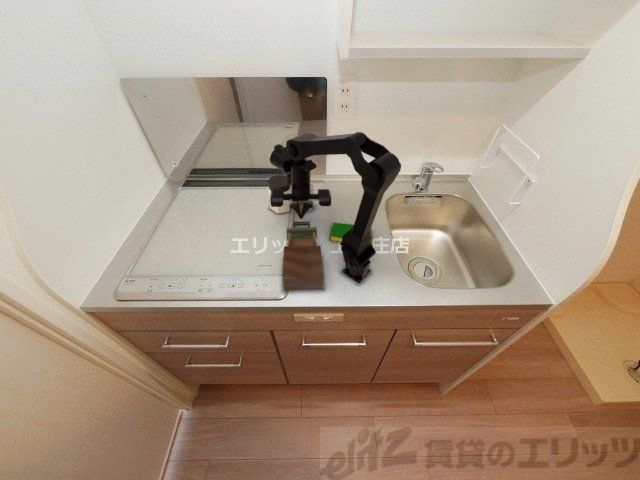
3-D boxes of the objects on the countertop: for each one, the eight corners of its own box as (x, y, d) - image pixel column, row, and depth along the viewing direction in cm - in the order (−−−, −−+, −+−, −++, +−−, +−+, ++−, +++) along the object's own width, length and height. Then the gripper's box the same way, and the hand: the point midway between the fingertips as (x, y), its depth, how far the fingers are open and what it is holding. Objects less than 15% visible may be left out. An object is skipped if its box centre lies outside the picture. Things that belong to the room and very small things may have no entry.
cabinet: (284, 258, 88) (283, 246, 83) (319, 257, 89) (320, 245, 84) (283, 290, 79) (282, 278, 75) (322, 289, 80) (323, 277, 76)
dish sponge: (370, 245, 94) (371, 240, 92) (331, 240, 94) (331, 235, 93) (370, 231, 98) (371, 226, 97) (332, 226, 99) (333, 222, 98)
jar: (288, 215, 103) (286, 189, 94) (267, 212, 104) (264, 186, 95) (294, 201, 109) (293, 175, 100) (274, 198, 110) (272, 172, 101)
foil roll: (315, 207, 107) (316, 186, 100) (306, 213, 104) (306, 192, 97) (306, 201, 109) (306, 180, 102) (296, 207, 106) (296, 186, 99)
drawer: (287, 228, 97) (286, 219, 94) (315, 227, 97) (315, 218, 94) (286, 261, 86) (285, 252, 83) (318, 260, 86) (318, 252, 83)
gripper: (329, 163, 85) (326, 202, 97) (270, 163, 84) (274, 203, 95) (333, 183, 78) (329, 223, 89) (268, 184, 76) (272, 224, 88)
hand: (301, 217), depth 90 cm, fingers closed
